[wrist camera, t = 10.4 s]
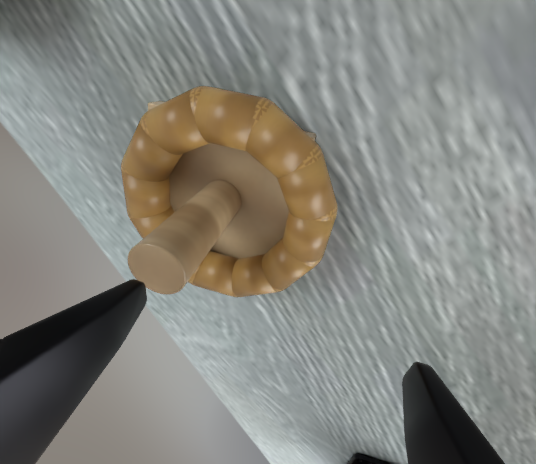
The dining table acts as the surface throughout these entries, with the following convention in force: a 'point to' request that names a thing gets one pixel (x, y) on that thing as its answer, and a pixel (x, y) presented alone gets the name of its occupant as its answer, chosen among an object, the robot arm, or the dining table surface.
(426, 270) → the dining table surface
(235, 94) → the ring
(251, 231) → the stand
